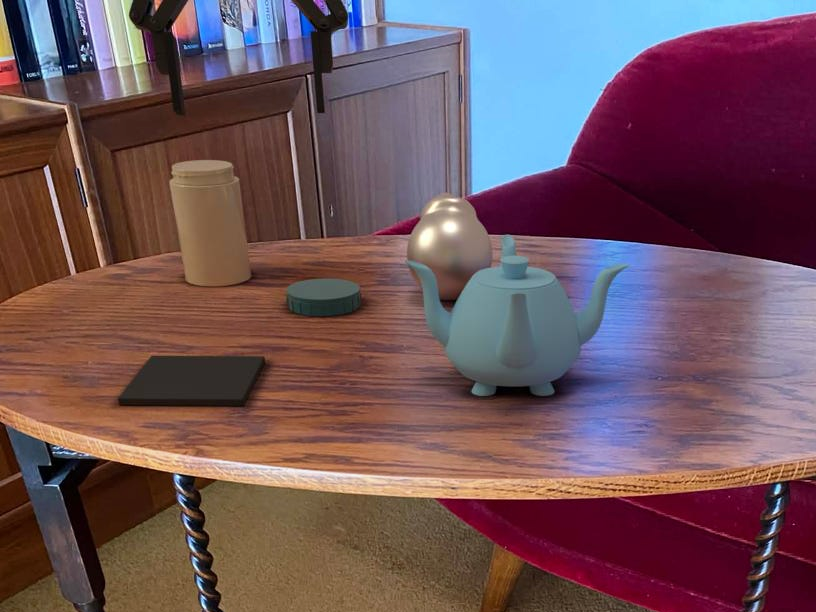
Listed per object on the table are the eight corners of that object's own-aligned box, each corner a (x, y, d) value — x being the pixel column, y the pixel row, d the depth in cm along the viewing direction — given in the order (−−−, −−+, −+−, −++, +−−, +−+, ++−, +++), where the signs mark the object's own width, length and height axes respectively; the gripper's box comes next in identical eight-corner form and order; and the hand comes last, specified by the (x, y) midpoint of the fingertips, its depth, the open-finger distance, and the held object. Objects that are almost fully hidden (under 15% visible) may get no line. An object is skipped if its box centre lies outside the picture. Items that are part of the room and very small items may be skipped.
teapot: (405, 380, 82) (400, 257, 76) (511, 343, 90) (513, 229, 84) (515, 422, 75) (519, 290, 69) (620, 379, 83) (631, 256, 77)
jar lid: (367, 295, 102) (366, 279, 101) (353, 318, 96) (352, 300, 95) (297, 293, 102) (295, 277, 101) (279, 315, 96) (277, 298, 95)
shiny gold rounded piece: (501, 288, 105) (504, 189, 99) (480, 314, 97) (480, 208, 91) (422, 282, 106) (420, 183, 100) (395, 306, 99) (390, 202, 93)
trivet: (118, 405, 77) (117, 398, 77) (152, 361, 85) (151, 355, 85) (243, 406, 77) (242, 399, 77) (265, 362, 85) (264, 356, 85)
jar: (178, 286, 104) (158, 171, 98) (194, 268, 110) (176, 158, 103) (244, 286, 104) (229, 171, 98) (256, 269, 110) (243, 159, 103)
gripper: (360, -133, 92) (376, 116, 99) (90, -137, 89) (127, 120, 96) (362, -169, 85) (379, 102, 92) (69, -175, 82) (110, 106, 89)
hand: (250, 112), depth 94 cm, fingers open, 13 cm apart
